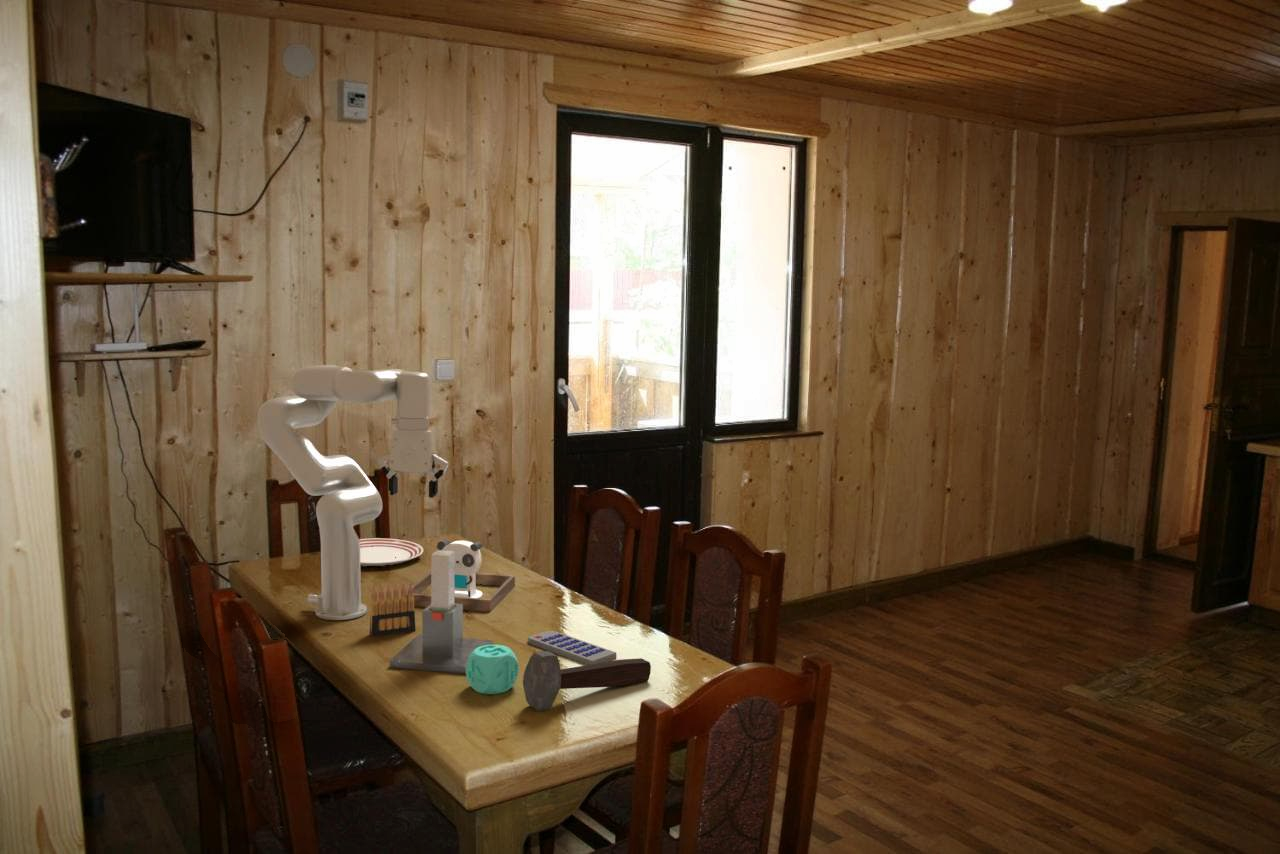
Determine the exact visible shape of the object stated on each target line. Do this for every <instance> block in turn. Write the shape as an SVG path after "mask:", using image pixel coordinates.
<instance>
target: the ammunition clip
mask: <svg viewBox="0 0 1280 854" xmlns="http://www.w3.org/2000/svg"><path fill="white" fill-rule="evenodd" d="M412 585H413V583H412V582H409V584H408V588H409V589H408V588H407V589H408V599H406V590H407V589H406V585H405V583H404V582H403V583H402V584H401V587H400V594H399V586H398V584H397V583H396V584H395V585H394V587H393V597H392V588H391V586H390V584H387V587H386V595H385V590H384V587H383V585H380V586H379V587H380V588H379V590H378V591H379V592H377V588H376V586H373V587H372V591H371V603H370V618H369V619H370V621H369V635H370V636H371V637H372V636H374V637H380V636H388V635H395V634H404V633H411V632H416V611H415V606H414V596H413V586H412ZM399 595H400V597H399ZM385 599H386V600H385Z"/></svg>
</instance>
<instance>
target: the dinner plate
mask: <svg viewBox="0 0 1280 854" xmlns="http://www.w3.org/2000/svg"><path fill="white" fill-rule="evenodd" d="M359 541H360V565H363V566H362V567H366V566H381V567H386V566H385V565H390V566H394V565H393V564H396V565H399V564H402V563H405V562H409V561H410V560H414V559H415V558H418V557H419V556H421V555H422V554H423V553H424V548H423V546H421V545H420V544H419V543H416V542H412V541H410V540H403V539H395V538H386V537H385V538H382V537H381V538H380V537H374V538H359ZM372 546H373V547H372ZM395 557H396V558H395ZM398 563H399V564H398Z"/></svg>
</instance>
